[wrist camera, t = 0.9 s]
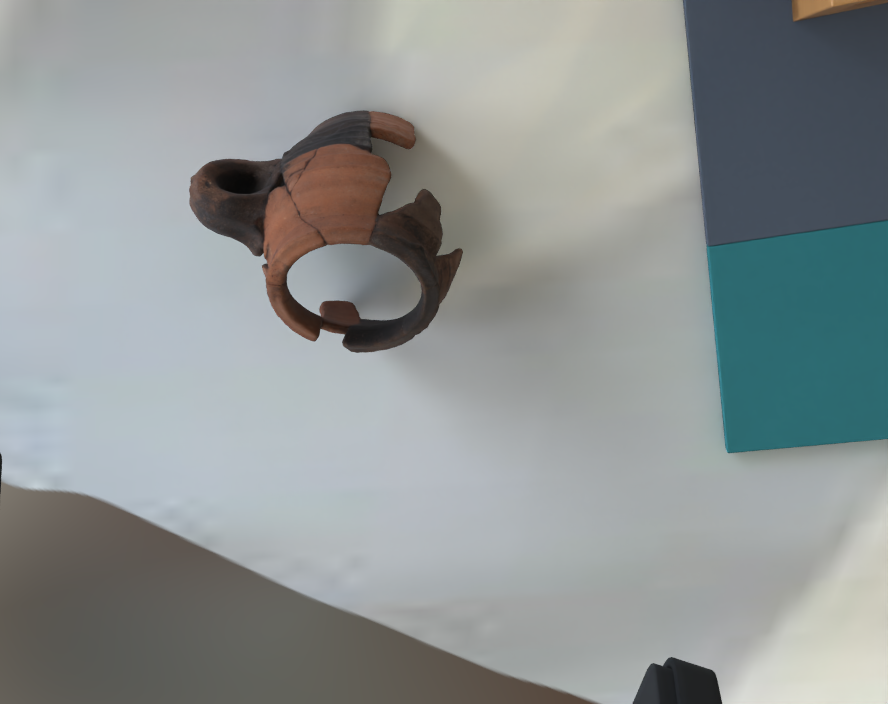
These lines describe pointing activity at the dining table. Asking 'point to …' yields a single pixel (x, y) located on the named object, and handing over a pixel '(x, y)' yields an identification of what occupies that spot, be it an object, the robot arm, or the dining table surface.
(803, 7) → the rack
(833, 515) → the dining table surface
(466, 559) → the dining table surface
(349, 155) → the pottery mug
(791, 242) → the mat
